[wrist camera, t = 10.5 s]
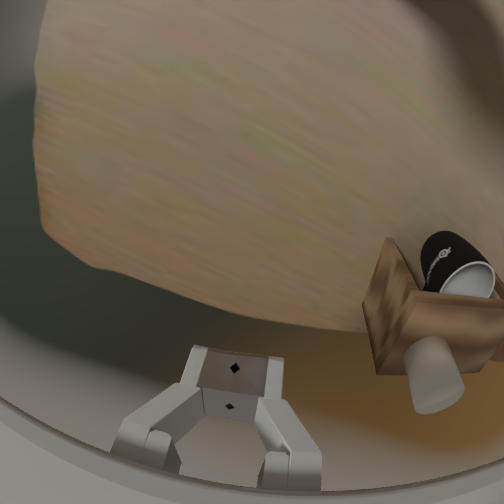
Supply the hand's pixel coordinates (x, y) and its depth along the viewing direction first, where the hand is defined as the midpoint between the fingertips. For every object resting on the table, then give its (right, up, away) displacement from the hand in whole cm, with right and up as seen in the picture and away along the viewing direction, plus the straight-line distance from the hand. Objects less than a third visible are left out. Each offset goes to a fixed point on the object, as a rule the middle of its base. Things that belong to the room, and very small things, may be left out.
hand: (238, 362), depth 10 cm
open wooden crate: (+27, -1, +31) cm, 41 cm away
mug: (+27, +3, +29) cm, 40 cm away
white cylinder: (+21, -8, +20) cm, 30 cm away
